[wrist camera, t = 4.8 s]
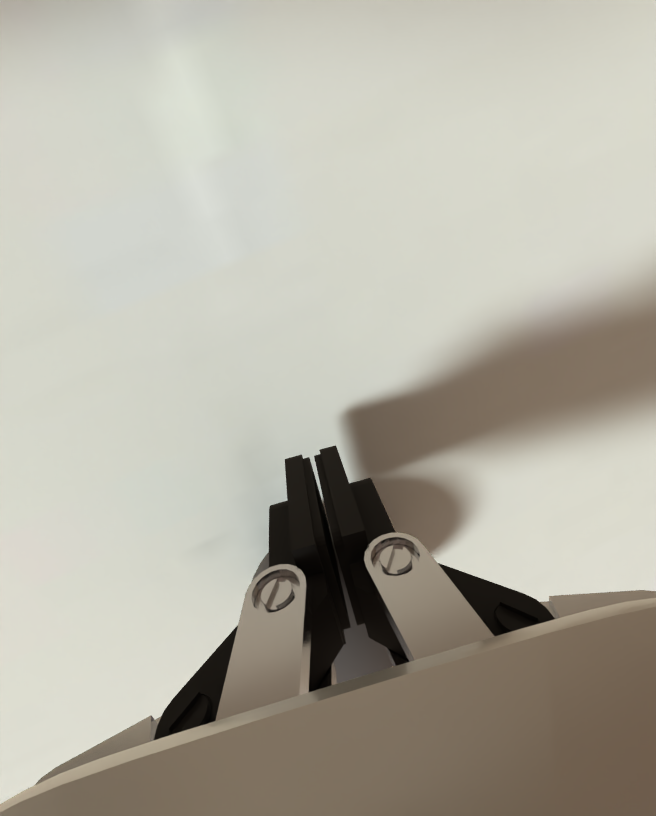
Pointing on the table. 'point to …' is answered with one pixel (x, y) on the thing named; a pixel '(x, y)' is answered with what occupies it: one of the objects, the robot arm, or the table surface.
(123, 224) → the table surface
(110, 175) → the table surface
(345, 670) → the ball
